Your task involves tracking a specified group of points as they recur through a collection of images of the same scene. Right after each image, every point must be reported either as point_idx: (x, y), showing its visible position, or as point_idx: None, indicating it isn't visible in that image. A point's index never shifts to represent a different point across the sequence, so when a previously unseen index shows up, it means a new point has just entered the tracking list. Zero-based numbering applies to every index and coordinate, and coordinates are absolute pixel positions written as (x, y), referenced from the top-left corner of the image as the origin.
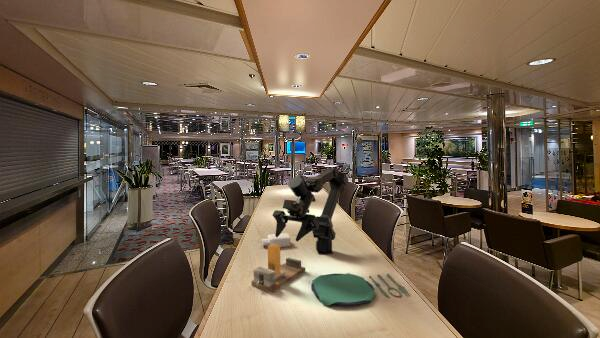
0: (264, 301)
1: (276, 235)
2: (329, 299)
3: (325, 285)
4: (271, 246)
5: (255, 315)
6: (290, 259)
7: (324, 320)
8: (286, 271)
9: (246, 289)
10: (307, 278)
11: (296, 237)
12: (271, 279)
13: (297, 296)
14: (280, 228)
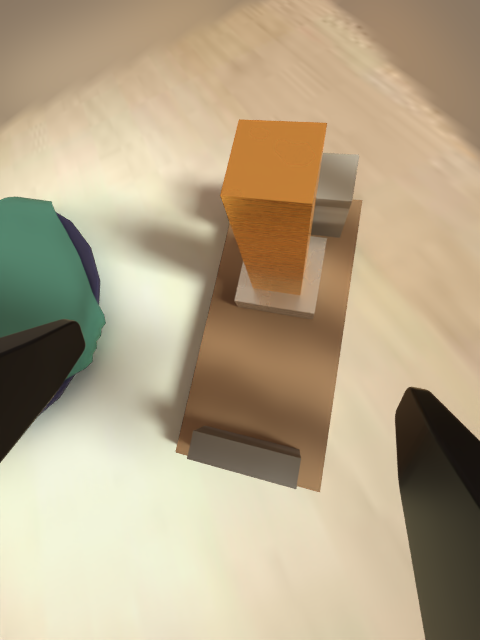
0: None
1: (410, 396)
2: (16, 202)
3: (52, 312)
4: (280, 126)
5: (222, 80)
6: (263, 455)
7: (39, 148)
8: (253, 359)
9: None
10: (150, 372)
11: (48, 330)
12: None
13: (143, 219)
14: (469, 607)
